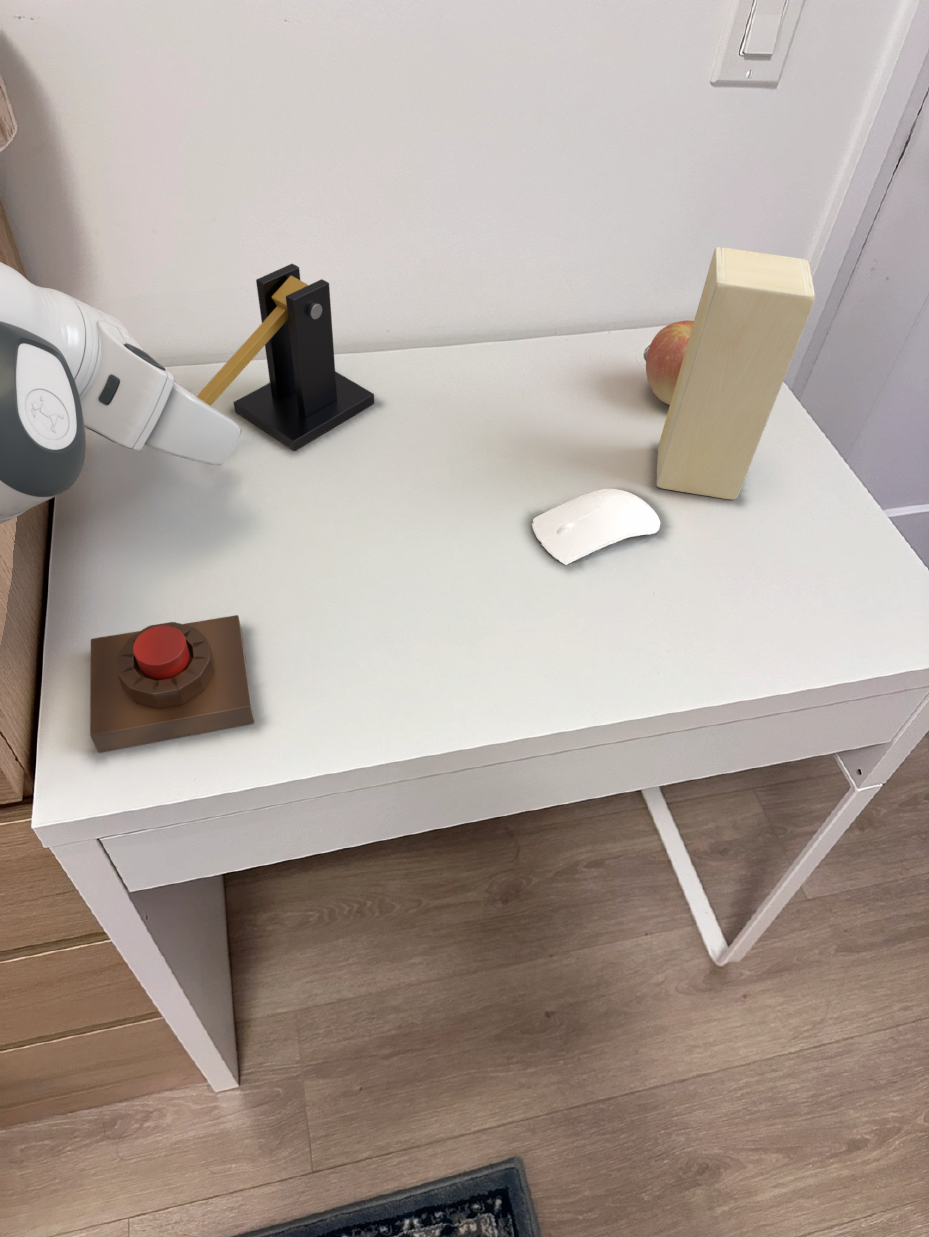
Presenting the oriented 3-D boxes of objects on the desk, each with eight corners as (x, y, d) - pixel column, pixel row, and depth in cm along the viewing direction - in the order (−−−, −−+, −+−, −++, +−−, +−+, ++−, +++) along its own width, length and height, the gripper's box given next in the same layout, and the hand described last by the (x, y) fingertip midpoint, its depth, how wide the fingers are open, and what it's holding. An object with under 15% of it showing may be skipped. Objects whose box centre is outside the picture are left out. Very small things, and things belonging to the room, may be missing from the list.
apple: (630, 408, 93) (646, 341, 87) (649, 365, 98) (665, 299, 92) (711, 429, 91) (733, 362, 85) (725, 384, 96) (747, 318, 90)
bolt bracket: (294, 451, 85) (279, 323, 75) (234, 412, 89) (212, 284, 78) (374, 403, 91) (370, 278, 80) (315, 368, 94) (304, 244, 84)
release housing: (98, 753, 62) (82, 721, 59) (98, 656, 68) (83, 623, 65) (254, 723, 64) (247, 692, 61) (242, 632, 70) (234, 599, 67)
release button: (139, 683, 62) (133, 668, 61) (137, 645, 64) (132, 630, 63) (191, 674, 63) (187, 659, 61) (188, 637, 65) (183, 621, 64)
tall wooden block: (736, 454, 88) (809, 254, 73) (738, 501, 84) (816, 298, 68) (657, 442, 89) (712, 241, 73) (655, 488, 84) (713, 284, 68)
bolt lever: (213, 436, 79) (200, 421, 76) (178, 413, 81) (164, 397, 78) (327, 307, 81) (317, 289, 79) (291, 287, 83) (280, 269, 81)
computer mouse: (523, 520, 80) (526, 501, 79) (632, 488, 84) (637, 469, 82) (559, 569, 76) (563, 550, 75) (672, 533, 80) (678, 514, 79)
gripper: (-14, 346, 72) (118, 397, 84) (137, 458, 63) (258, 495, 76) (17, 276, 70) (146, 337, 83) (175, 380, 62) (292, 431, 75)
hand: (201, 414), depth 79 cm, fingers closed on bolt lever, 5 cm apart
